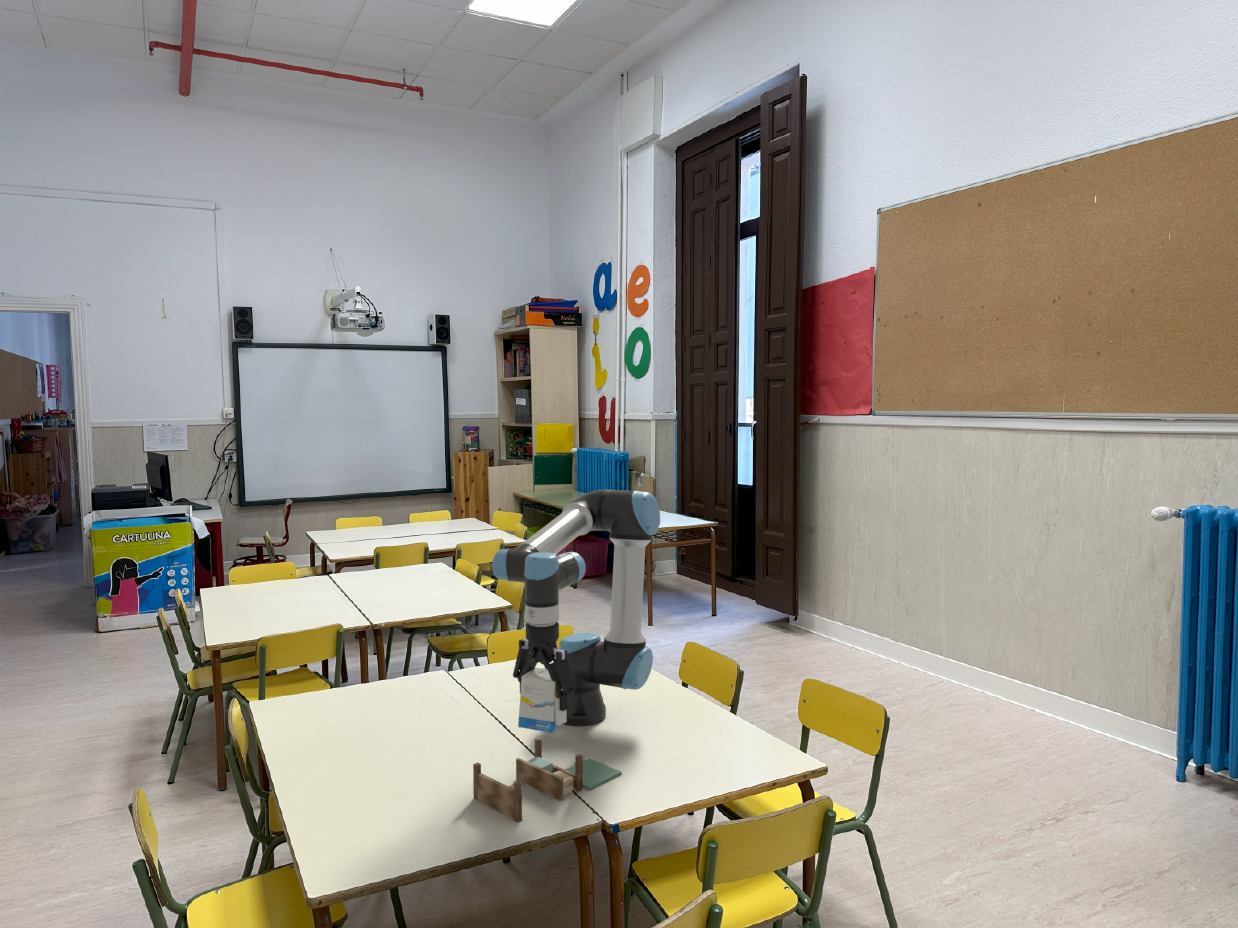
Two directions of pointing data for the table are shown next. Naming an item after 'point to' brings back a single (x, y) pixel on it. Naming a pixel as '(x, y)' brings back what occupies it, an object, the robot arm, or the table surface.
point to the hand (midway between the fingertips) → (543, 716)
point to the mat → (595, 773)
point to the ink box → (537, 701)
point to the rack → (529, 774)
